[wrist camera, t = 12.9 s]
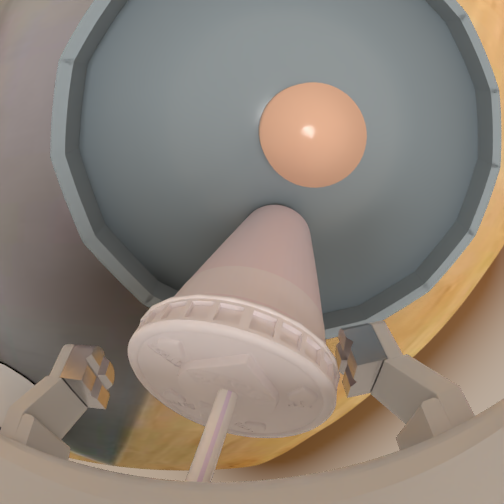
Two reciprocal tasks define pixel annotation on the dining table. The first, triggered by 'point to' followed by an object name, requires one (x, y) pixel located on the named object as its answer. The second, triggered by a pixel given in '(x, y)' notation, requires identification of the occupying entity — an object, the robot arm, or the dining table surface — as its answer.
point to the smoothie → (243, 340)
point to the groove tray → (279, 139)
